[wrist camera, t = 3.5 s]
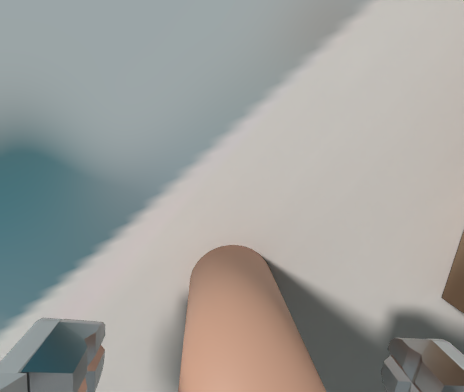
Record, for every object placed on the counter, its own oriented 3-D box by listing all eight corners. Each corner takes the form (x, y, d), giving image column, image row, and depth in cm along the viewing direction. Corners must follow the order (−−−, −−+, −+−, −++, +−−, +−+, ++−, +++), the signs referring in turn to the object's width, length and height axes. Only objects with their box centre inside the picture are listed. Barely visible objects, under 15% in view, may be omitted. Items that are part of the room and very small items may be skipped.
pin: (264, 320, 12) (337, 555, 5) (186, 316, 12) (159, 565, 5) (277, 248, 11) (380, 417, 5) (194, 241, 11) (175, 416, 4)
